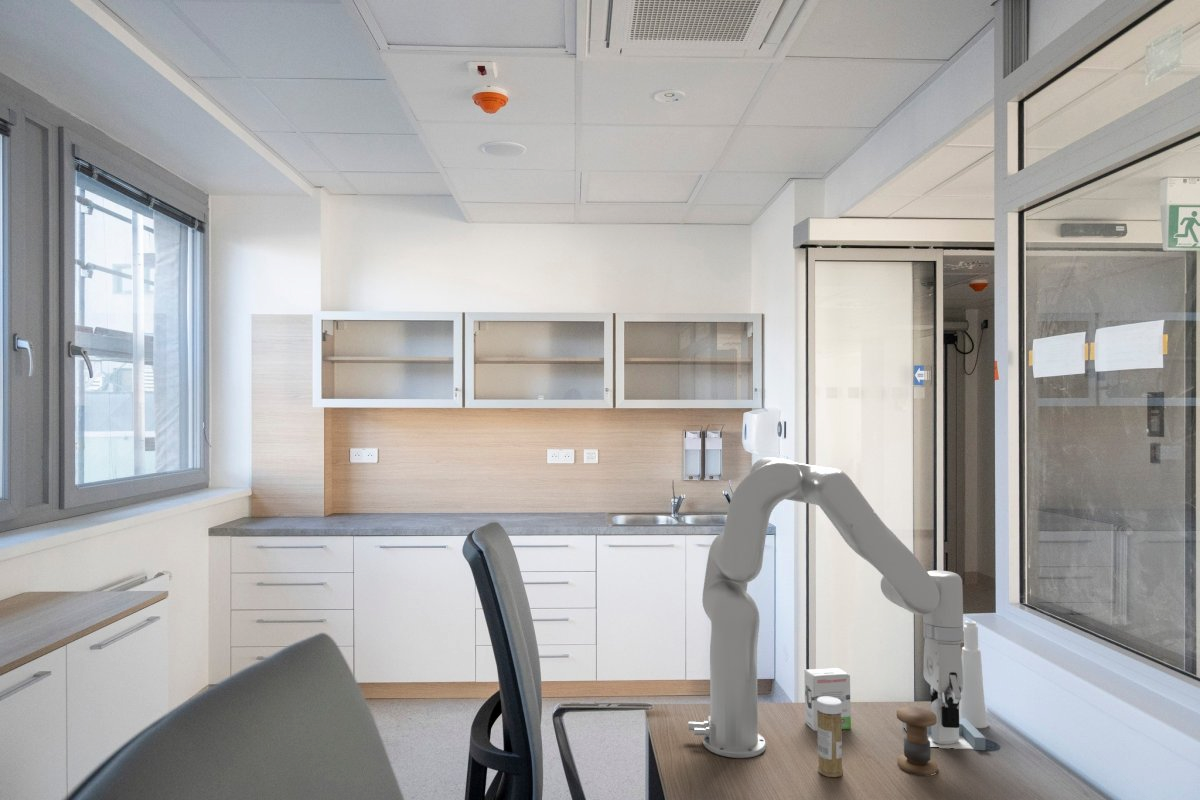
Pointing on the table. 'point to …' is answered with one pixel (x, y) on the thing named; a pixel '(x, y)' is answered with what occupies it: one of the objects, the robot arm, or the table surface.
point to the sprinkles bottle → (829, 736)
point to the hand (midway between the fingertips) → (944, 720)
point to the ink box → (826, 693)
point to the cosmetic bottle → (972, 679)
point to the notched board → (961, 737)
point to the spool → (917, 741)
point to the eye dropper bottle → (937, 730)
